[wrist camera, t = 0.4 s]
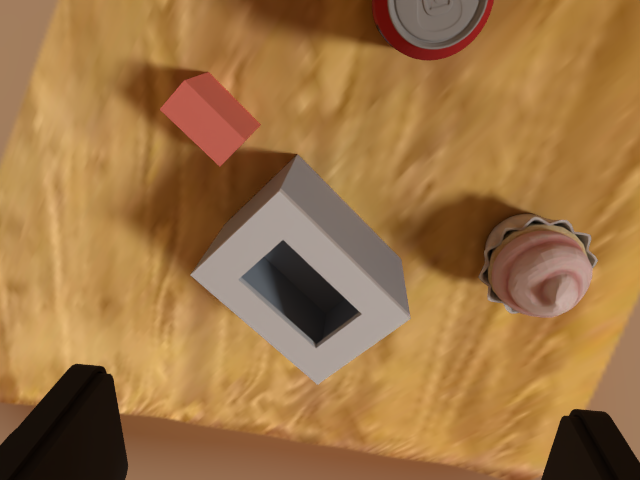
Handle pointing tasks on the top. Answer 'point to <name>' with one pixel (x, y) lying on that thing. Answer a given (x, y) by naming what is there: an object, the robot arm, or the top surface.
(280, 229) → the grey box
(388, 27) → the beverage can
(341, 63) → the top surface
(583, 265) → the cupcake
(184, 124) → the block
